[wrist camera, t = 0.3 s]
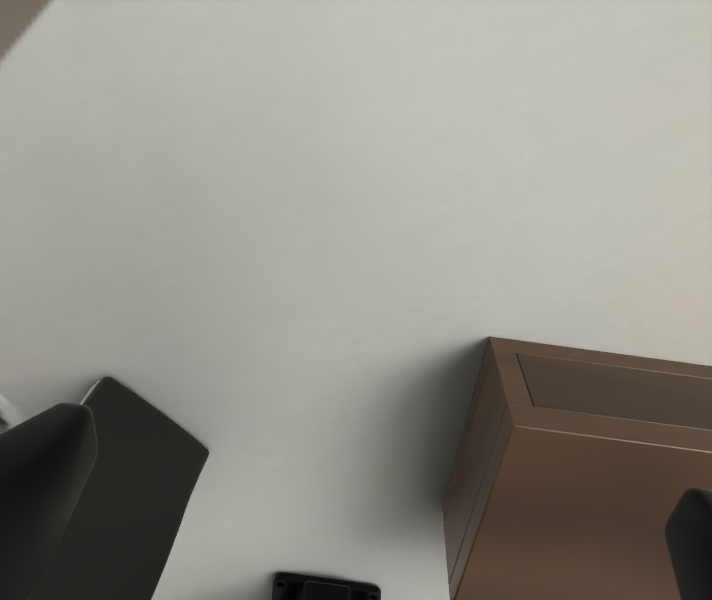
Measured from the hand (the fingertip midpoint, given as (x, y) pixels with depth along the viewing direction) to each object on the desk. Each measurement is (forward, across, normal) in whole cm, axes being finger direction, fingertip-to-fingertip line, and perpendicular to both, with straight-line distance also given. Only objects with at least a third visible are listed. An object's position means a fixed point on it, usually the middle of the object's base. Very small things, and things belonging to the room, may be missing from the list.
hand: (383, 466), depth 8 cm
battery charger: (+15, +11, +14) cm, 23 cm away
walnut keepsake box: (+15, -13, +12) cm, 23 cm away
